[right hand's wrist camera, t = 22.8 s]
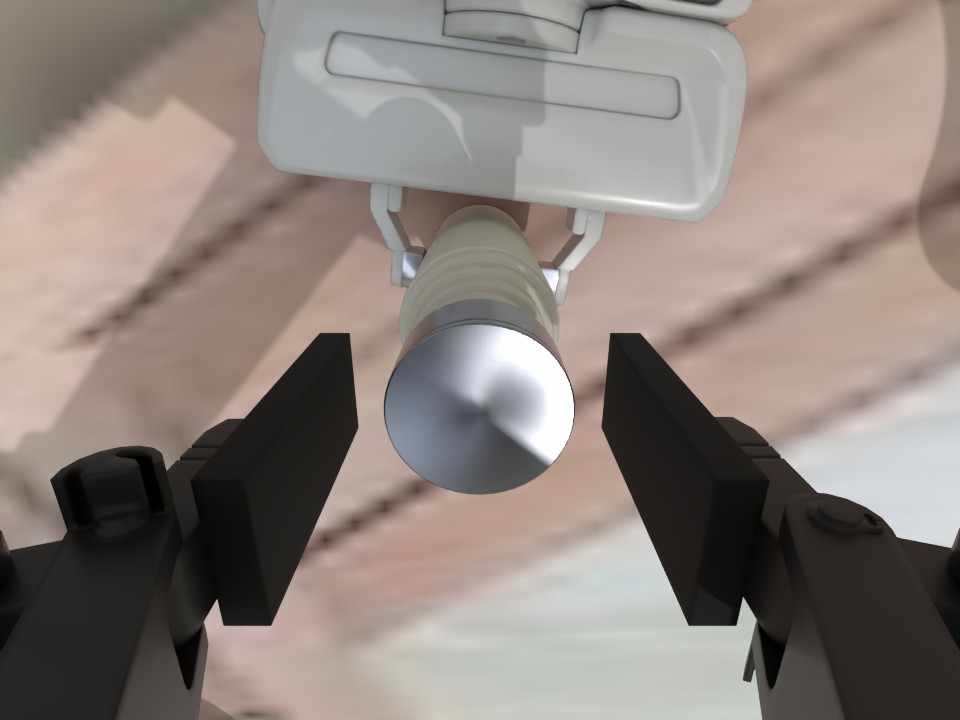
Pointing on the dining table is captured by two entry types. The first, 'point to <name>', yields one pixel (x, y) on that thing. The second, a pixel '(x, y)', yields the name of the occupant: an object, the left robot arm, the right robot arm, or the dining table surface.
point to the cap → (479, 398)
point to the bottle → (479, 270)
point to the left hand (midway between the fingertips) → (478, 293)
